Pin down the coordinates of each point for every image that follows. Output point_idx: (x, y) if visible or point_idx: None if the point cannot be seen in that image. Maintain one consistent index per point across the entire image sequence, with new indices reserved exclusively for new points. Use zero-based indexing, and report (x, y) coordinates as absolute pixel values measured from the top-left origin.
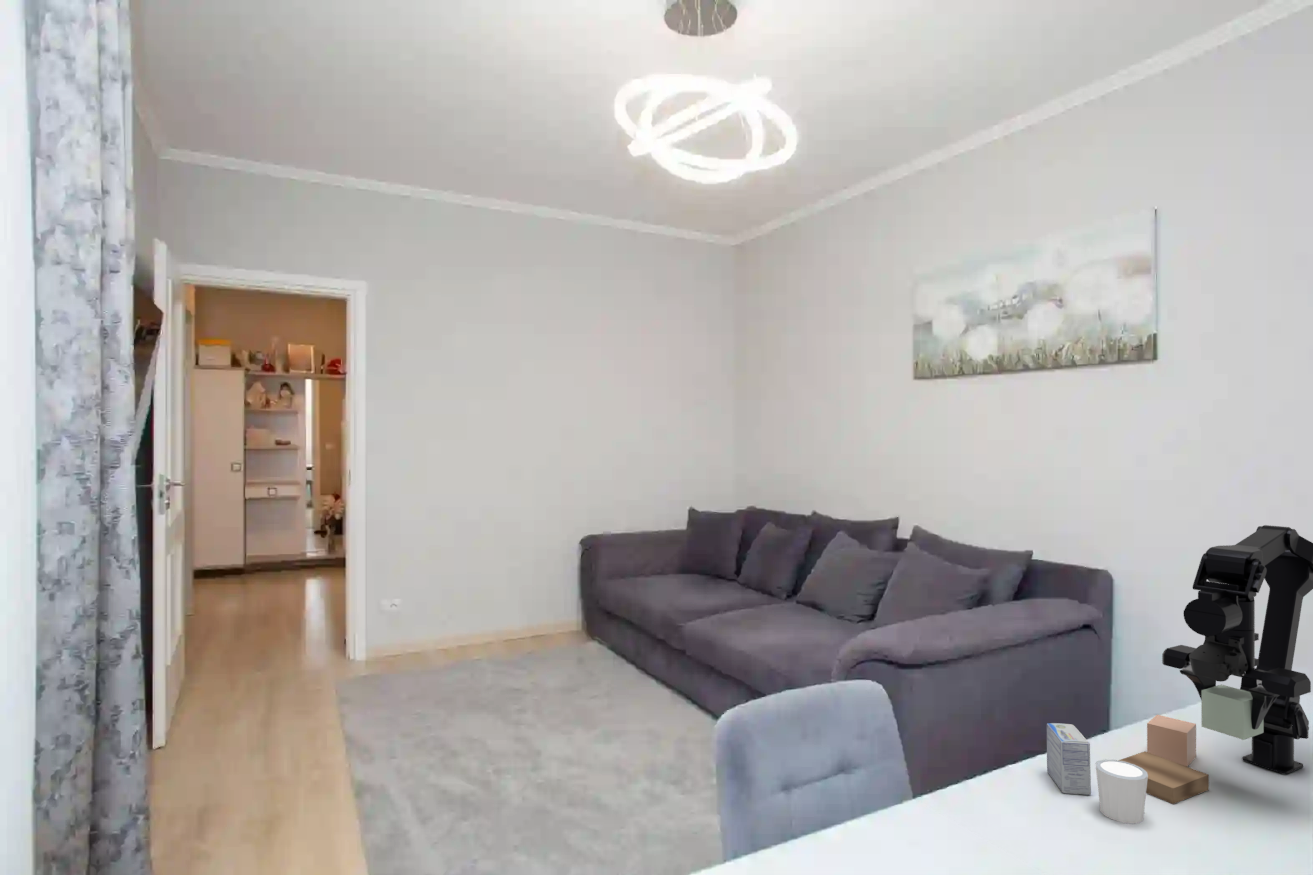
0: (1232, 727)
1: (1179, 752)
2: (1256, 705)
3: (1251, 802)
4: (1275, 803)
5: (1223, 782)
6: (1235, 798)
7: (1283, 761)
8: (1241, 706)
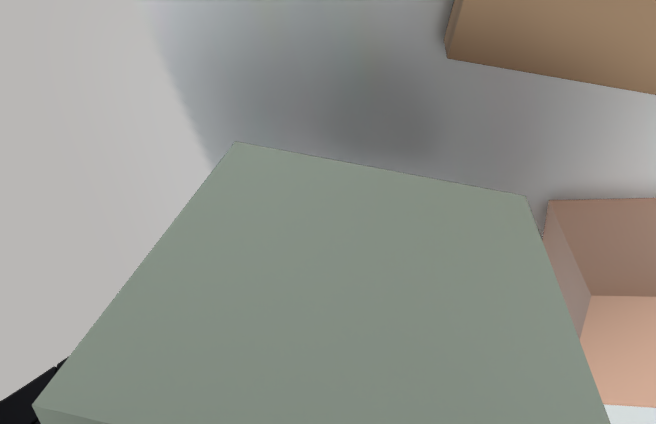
0: (292, 191)
1: (592, 229)
2: (29, 421)
3: (302, 53)
4: (254, 112)
5: (419, 157)
6: (349, 41)
7: None
8: (104, 341)
